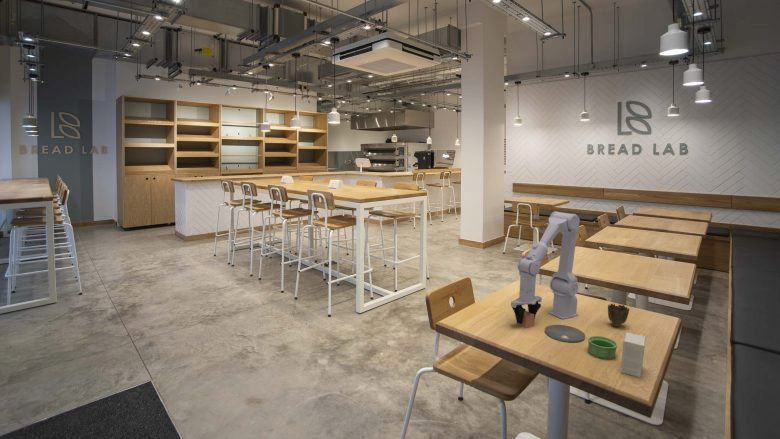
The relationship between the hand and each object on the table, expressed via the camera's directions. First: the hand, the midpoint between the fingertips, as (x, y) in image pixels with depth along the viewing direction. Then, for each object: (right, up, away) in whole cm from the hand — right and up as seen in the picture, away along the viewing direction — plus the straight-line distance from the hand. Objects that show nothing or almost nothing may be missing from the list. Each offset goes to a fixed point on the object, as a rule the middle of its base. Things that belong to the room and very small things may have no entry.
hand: (525, 321), depth 161 cm
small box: (+23, -7, -33) cm, 41 cm away
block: (0, -2, 0) cm, 2 cm away
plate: (+12, -3, -8) cm, 15 cm away
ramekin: (+19, -6, -22) cm, 30 cm away
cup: (+36, -2, 0) cm, 36 cm away
